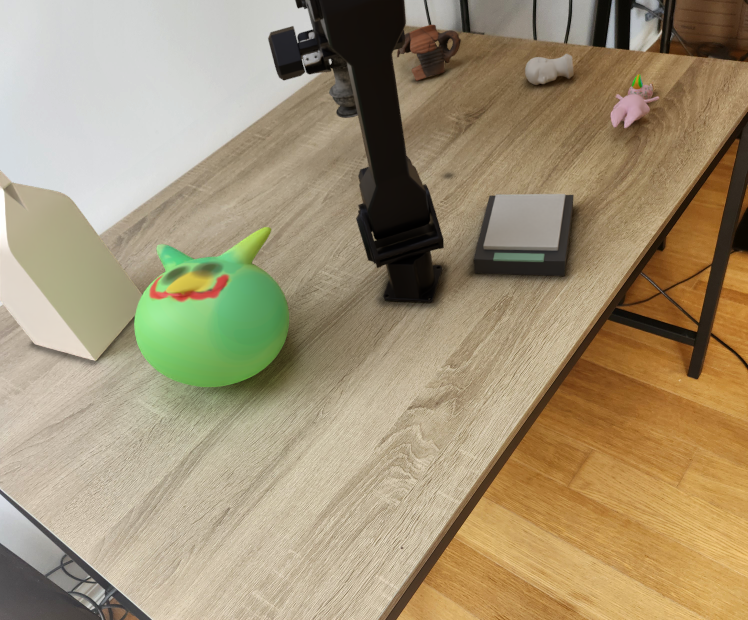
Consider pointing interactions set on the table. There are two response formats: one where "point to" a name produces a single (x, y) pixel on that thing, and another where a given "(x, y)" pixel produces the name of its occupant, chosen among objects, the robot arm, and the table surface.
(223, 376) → the toy bird
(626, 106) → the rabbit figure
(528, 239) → the scale
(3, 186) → the milk
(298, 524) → the table surface
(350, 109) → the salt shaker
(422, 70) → the pottery mug
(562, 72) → the smooth white sculpture
